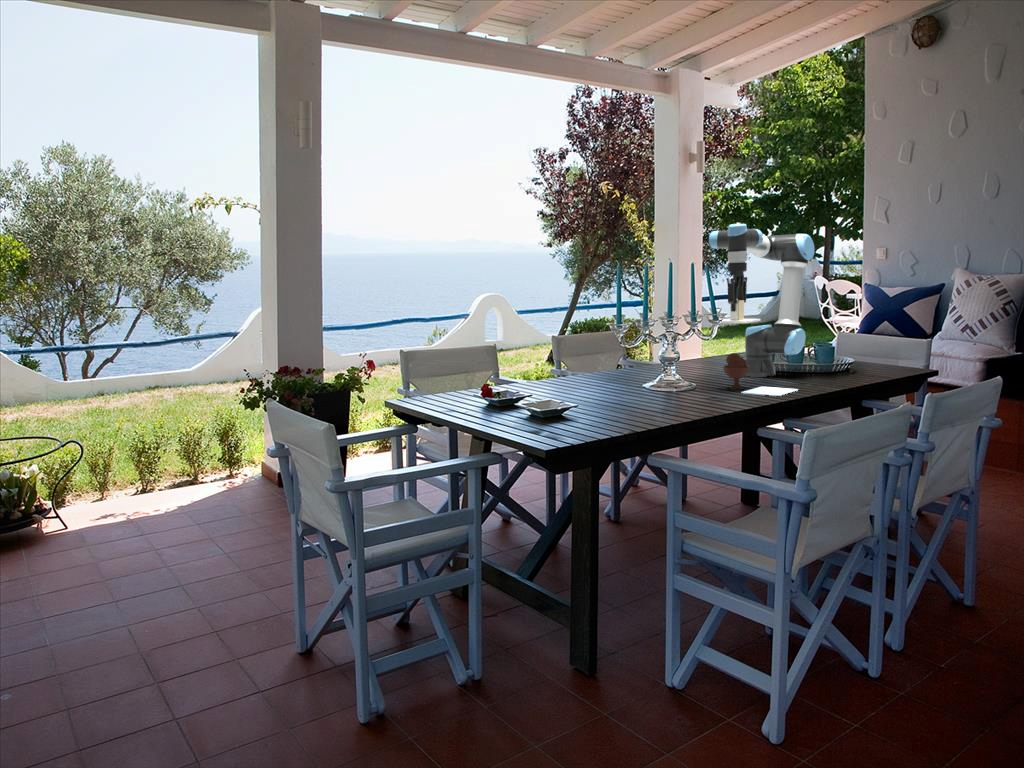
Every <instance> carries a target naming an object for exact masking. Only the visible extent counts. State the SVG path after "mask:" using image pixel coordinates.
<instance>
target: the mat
mask: <svg viewBox="0 0 1024 768" xmlns="http://www.w3.org/2000/svg"><path fill="white" fill-rule="evenodd" d="M798 390H800V389H798V388H786V387H775V386H774V387H773V386H759V387H755V388H751V389H747V390H744V391H741V394H742V393H743V394H744V395H755V396H765V395H769V396H768V397H776V396H780V397H782V395H783V396H786V395H789V394H788V393H790V394H793V393H796V392H799V391H798ZM795 391H796V392H795ZM792 392H793V393H792ZM785 394H786V395H785Z"/></svg>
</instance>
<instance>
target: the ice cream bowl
mask: <svg viewBox="0 0 1024 768" xmlns="http://www.w3.org/2000/svg"><path fill="white" fill-rule="evenodd" d="M725 361H726V365H723V366H722V367H723V368H722V369H723V371H724V373H725V375H726V376H728V377H729V378H730V379H733V382H734V384H733V385H731V386H730V388H729V389H730V390H735V389H739V390H743V389H744V387H743V386H741V385H740V384H739V383H740V379H742V378H744V377H746V376H745V375H746V374H747V373H748V371H749V369H750V366H748V365H746V364H747V363H746V360H745V358H743V357H742V356H741V355H740V354H738V353H736V352H735V353H734V352H732V353H730V354H728V355H727V357H726V359H725Z"/></svg>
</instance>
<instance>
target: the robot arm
mask: <svg viewBox="0 0 1024 768" xmlns="http://www.w3.org/2000/svg"><path fill="white" fill-rule="evenodd" d="M747 226H748V225H747V224H746V223H733V224H729V225H728V227H727V230H714V231H712V232H710V234H709V235H708V245H709V247H711V248H712V249H715V250H716V249H717V250H719V249H720V250H721V249H725V250H727V255H726V256H727V262H728V264H727V272H728V273H730V276H729V277H728V278H726V283H727V302H728V304H731V319H734V320H737V319H738V304H736V303H737V300H744V304H746V303H747V286H748V285H747V282H748V277H747V276H745V274H744V273H745V272H747V267H748V265H747V259H748V258H747V256H748V254H752V255H753V256H755V257H757V258H760V259H766V260H770V261H775V262H776V261H779V262H780V265H781V266H782V267H783V271H782V272H783V273H782V279H781V281H782V282H781V291H780V301H779V310H778V311H779V312H778V320H777V321H776V322H774V325H773V326H772V324H763V325H755V326H748V327H747V328H746V329H745V335H744V339H745V340H744V341H745V343H744V344H745V358H744V359H745V360H746V363H747V364H746V365H748V366H750V369H749V371H748V373H747V374H746V375H745V376H744V377H748V376H750V378H751V377H752V378H768V377H767V376H770V377H774V375H775V376H776V369H775V366H774V362H773V358H772V354H775V355H776V354H778V355H787V356H791V355H798V354H799V353H801V351H802V350H803V348H804V347H805V344H806V338H807V337H806V336H807V335H806V331H805V330H804V329H803V328H802V324H801V323H800V322H799V320H800V318H799V317H800V310H801V309H800V308H801V307H800V306H801V298H802V288H803V280H804V279H803V277H804V269H805V268H806V267H807V266H808V265H809V264H808V263H809V261H812V260H813V259H814V255H815V243H814V241H813V239H812V237H811V236H810V235H809V234H807V233H793V234H792V233H791V234H776V235H767V236H766V235H765V236H764V235H763V232H762V231H761V230H760V229H756V228H748V227H747Z"/></svg>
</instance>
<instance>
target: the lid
mask: <svg viewBox="0 0 1024 768" xmlns="http://www.w3.org/2000/svg"><path fill="white" fill-rule="evenodd" d="M736 304H738V319H737V320H734V319H731V304H730V313H729V314H730V315H729V316H730V317H729V318H722V319H723V320H722V321H721V323H720V324H750V323H756V322H761V320H762V319H761V318H745V303H744V300H737V303H736Z"/></svg>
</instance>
